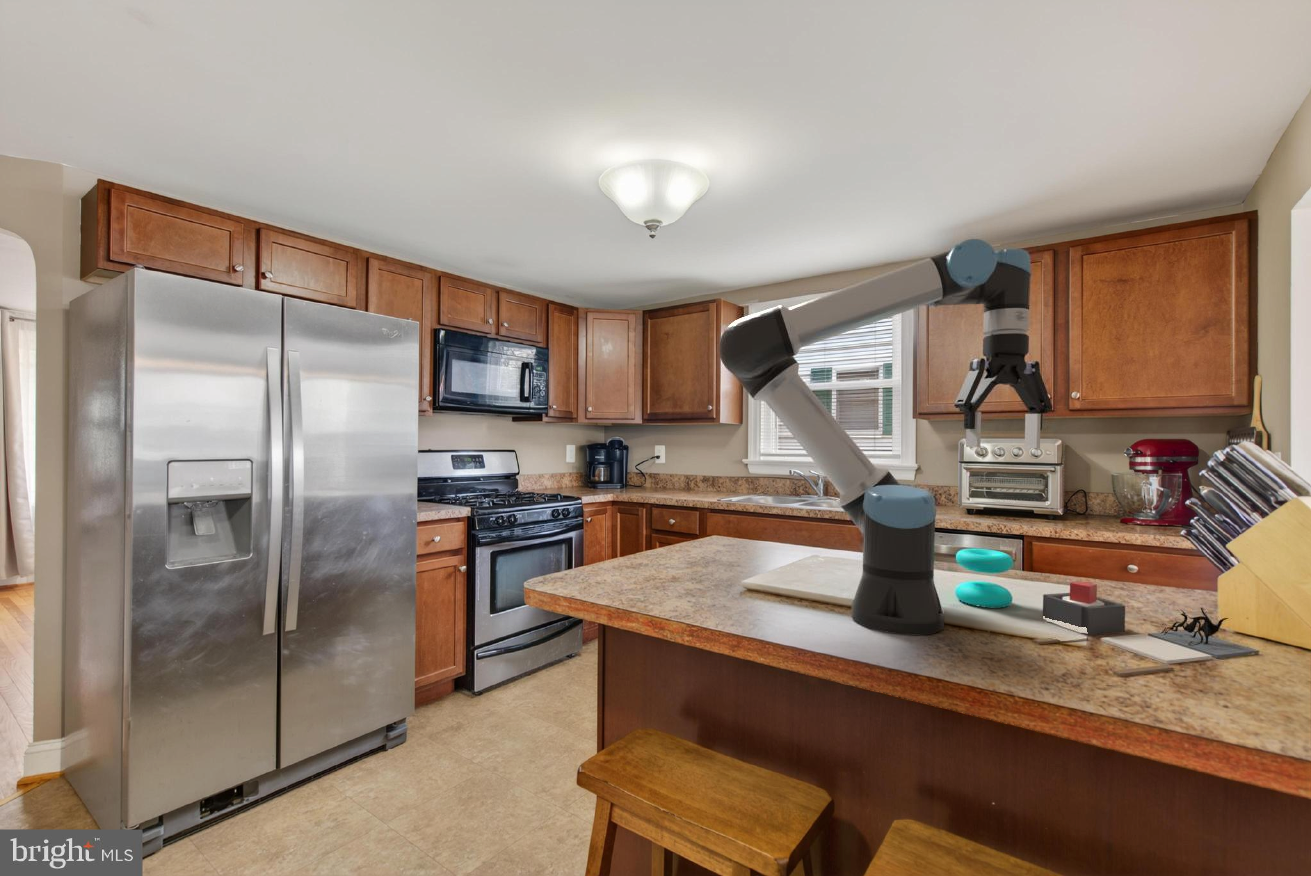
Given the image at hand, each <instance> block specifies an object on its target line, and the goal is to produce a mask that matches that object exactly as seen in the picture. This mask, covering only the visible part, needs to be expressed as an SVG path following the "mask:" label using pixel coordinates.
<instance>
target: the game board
mask: <svg viewBox="0 0 1311 876" xmlns="http://www.w3.org/2000/svg"><path fill="white" fill-rule="evenodd" d="M1065 596H1070V592H1059V593H1046V594H1043V595H1042V617H1043V616H1045V618H1049V619H1052V620H1057V621H1062V622H1064V623H1069V624H1071V625H1075V626H1078V627H1086V628H1087V632H1088V635H1087V636H1086V637H1087V640H1089V637H1088V636H1097V635H1108V634H1109V635H1110V634H1120V633H1126V629H1125V628H1126V605H1124V604H1123V603H1120V602H1118V601H1117V602H1116V601H1112V600H1109V599H1105V598H1102V597H1098V596H1097V600H1099V601H1101V602H1103V603H1104V605H1101V606H1088V607H1086V606H1082V605H1079V604H1076V603H1072V602H1069V601H1066V600H1062V598H1063V597H1065ZM1166 632H1167V631H1166ZM1195 632H1196V631H1195V630H1194V631H1193V632H1192V633H1189V632H1188V631H1185V630H1184V629H1182V630H1178V631H1177V632H1176V631H1172V630H1169V631H1168V632H1167V633H1166V634H1165V631H1164V632H1163V633H1162V631H1160V632H1152V633H1151V632H1148V633H1147V634H1145V633H1137V634H1129V635H1117V636H1108V637H1107V636H1106V637H1101V638H1100V641H1101V642H1102V643H1106V644H1108V645H1112V646H1114V647H1117V648H1120V649H1123V650H1125V651H1129V652H1131V653H1134V654H1137V655H1139V656H1142V657H1146V658H1149V659H1151V660H1153V661H1157V662H1159V663H1162V665H1153V666H1144V667H1142V666H1141V667H1135V668H1125V669H1124V668H1123V669H1117V670H1112V674H1113V675H1114V676H1118V677H1127V676H1134V675H1135V676H1136V675H1144V674H1153V673H1160V672H1169V671H1175V667H1174V666H1172V665H1171V664H1178V663H1187V662H1188V663H1189V662H1196V661H1206V660H1212V658H1214V659H1223V658H1224V659H1225V658H1232V657H1242V656H1241V655H1243V656H1248V654H1252V653H1259V654H1260V650H1259V649H1255V648H1252V647H1248V646H1245V645H1241V644H1238V643H1234V642H1232V641H1228V640H1224V639H1221V638H1217V637H1214V636H1212V635H1211V636H1209V637H1208V644H1205V643H1203V642H1206V637H1205V634H1204V633H1201V635H1202V636H1203V642H1202V643H1200V644H1198V645H1195V644H1197V643H1198V642H1201V637H1200V635H1199V633H1198V632H1197V633H1196V636H1195V637H1191V636H1193V635H1194V633H1195ZM1169 633H1173V634H1169ZM1164 634H1165V635H1164ZM1176 634H1177V635H1176ZM1185 634H1188V635H1185ZM1179 635H1181V636H1182V637H1181V636H1179ZM1190 635H1191V636H1190ZM1053 638H1054V637H1047V638H1046V637H1045V638H1038V639H1037V638H1036V639H1032V642H1033V643H1034V644H1036V645H1043V644H1044V645H1045V644H1055V643H1056V644H1057V643H1062V642H1061V641H1060V640H1058V639H1053ZM1087 640H1086V641H1087ZM1191 641H1192V642H1191ZM1190 642H1191V643H1190ZM1189 643H1190V644H1189ZM1188 644H1189V645H1188ZM1190 645H1193V646H1190ZM1252 655H1253V654H1252Z"/></svg>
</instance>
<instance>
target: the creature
mask: <svg viewBox="0 0 1311 876" xmlns="http://www.w3.org/2000/svg"><path fill="white" fill-rule="evenodd" d="M1200 610H1201V614H1202V616H1195V617H1190V616H1189V615H1188V614H1187V613H1186V612H1184V610H1182V609H1180V611H1181V612H1182V613H1180V615H1181V616H1182V617H1183V618H1184V619H1183V621H1175V622H1173V624H1172V626H1167V627H1165V628H1164V629H1163V630H1162V631H1161V632H1162V633H1163V632H1165V634H1166V633H1167V632H1170V631H1176V632H1177V631H1179V628H1182V630H1185V631H1188V632H1189V633H1192V632H1193V631H1194V632H1195V633H1194V635H1193V636H1191V635H1190V636H1191V637H1195V636H1196V633H1199V635H1200V637H1201V642H1198V643H1197V644H1195V645H1198V644H1200V643H1202V642H1203V636H1202V635H1201V634H1202V633H1201V632H1203V634H1204V635H1205V637H1206V642H1203V643H1205V644H1208V637H1209V636H1211V637H1212V636H1213V635H1214V634H1216V633H1217V632H1219V630H1220V628H1221V626H1222V625H1223V622H1224V621H1225V620H1229V617H1228V618H1227V617H1224V618H1221V619H1219V620H1218V623H1216V624H1214V623H1213V622H1212V620H1211V619H1210V618H1209V617H1208V615H1207V614H1206V612H1205V611H1204V607H1203V606H1202V607H1200ZM1188 619H1190V620H1192V621H1191V622H1190V623H1188ZM1201 621H1203V624H1202V623H1201ZM1197 624H1198V628H1197V630H1195V629H1196V626H1197ZM1201 624H1202V625H1201ZM1174 628H1175V629H1174ZM1165 634H1164V635H1165ZM1169 634H1173V633H1169ZM1176 635H1177V634H1176ZM1185 635H1188V634H1185ZM1179 636H1181V635H1179ZM1181 637H1182V636H1181ZM1191 642H1192V641H1191ZM1191 642H1190V643H1191ZM1190 643H1189V644H1190ZM1189 644H1188V645H1189ZM1190 646H1193V645H1190Z"/></svg>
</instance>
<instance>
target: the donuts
mask: <svg viewBox="0 0 1311 876" xmlns="http://www.w3.org/2000/svg"><path fill="white" fill-rule="evenodd" d="M1013 559H1014V558H1012V556H1011V555H1010V554H1007V553H1006V552H1003V551H998V550H993V549H986V548H964V549H960V550H959V551H957V553H956V554H955V560H956V562H957V563H958V565H959V566H961V567H963V569H965V570H969V571H971V572H976V573H982V574H983V573H984V574H1002V573H1005V572H1008V571H1009V570H1011V569H1012V568H1013V566H1014V560H1013ZM954 593H955V597H956V598H957V599H958V600H959V601H960V600H961V602H962V603H964V602H965V604H967V603H968V604H967V605H970V604H972V605H971V606H974V605H979V606H985V607H1003V608H1006V606H1007V607H1009V606H1011V604H1012V602H1013V595H1012V593H1011V591H1009V590H1008V589H1007V588H1006V587H1004V586H1002V585H1000V584H997V583H996V584H995V583H994V582H988V581H982V580H981V581H979V580H974V581H973V580H971V581H965V582H961V583H960V584H958V585H957V586H956V587H955V590H954ZM985 607H984V608H985Z"/></svg>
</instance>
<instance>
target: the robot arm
mask: <svg viewBox="0 0 1311 876" xmlns="http://www.w3.org/2000/svg"><path fill="white" fill-rule="evenodd" d="M1031 268H1032V267H1031V256H1030V253H1029V251H1026V250H1025V249H1021V248H1005V249H997V250H994V247H993V246H992V245H991V244H990V243H989V242H987V241H985V240H982V239H981V238H980V239H979V238H969V239H965V240H963V241H961V242H959V243H957V244H956V245H954V246H952V248H951V249H950V250H948V251H945V252H942V253H939V254H937V255H934V256H931V257H928V258H926V259H923V260H920V261H917V262H914V263H911V264H909V265H906V266H903V267H900V268H898V269H897V268H896V269H895V270H892V271H889V272H886V273H884V274H880V275H878V276H875V277H872V278H869V279H866V280H863V281H860V282H858V283H856V284H853V285H849V286H847V287H844V288H841V289H838V290H835V291H833V292H831V293H827V294H825V295H821V296H819V297H817V298H814V299H811V300H808V301H805V302H802V303H799V304H797V305H794V306H791V307H785V306H783V305H779V304H778V305H777V306H775V307H774V306H773V307H771V308H768V309H766V310H765V309H764V310H761V311H759V312H756V313H753V314H750V315H746V316H743V317H741V318H739V319H736V320H734V321H733V322H732V323H731V324H729V325H728V326H727V327H726V328H725V330H724V331H723V333H722V334H721V336H720V339H719V343H718V353H719V354H718V355H719V357H720V360H721V363H722V365H723V366H724V367H725V369H727V370H728V372H730V373H731V374H732V375H733V376H734V378H736V380H737V381H738V382H739V383H740V384H741V386H742V387H743V388H744V390H745V391H746V392H747V393H748V394H749V396H750V397H751V398H752V399H753V400H754V401H761V402H765V403H766V405H768V407H769V409H771V411H772V412H773V413H774V414H775V416H776V417H777V418H778V419H779V420H780V421H781V423H782V424H783V425H784V426H785V428H786V429H787V430H788V431H789V433H790V434H791V436H792V437H794V439H795V440H796V441H797V443H798V444H799V445H800V447H802V449H803V450H804V451H805V453H806V454H807V455H808V456H809V457H810V458H811V459H812V461H813V462H814V463H815V464H816V466H817V467H818V468H819V470H820V471H821V472H822V473H823V475H825V477H826V478H827V479H828V480H829V482H830V483H831V484H832V485H833V487H834V488H835V489H836V490H837V492H838V493H839V503H838V504H839V506H840V508H842V510H843V511H844V512H845V513H846V515H847V516H848V517H849V518H850V519H851V521H852V522H853V523H854V525H855V526H856V527H857V528H858V529H859V531H860V532H861V534H862V535H863V536H862V574H861V578H860V580H859V583H858V585H857V588H856V593H855V594H854V598H853V600H852V602H851V612H850V613H851V614H850V616H851V618H852V620H853V621H854V622H856V623H858V624H860V625H862V626H863V627H867V628H868V629H869V628H870V629H872V630H877V631H880V632H881V631H882V632H886V633H893V634H899V635H909V636H910V635H915V636H919V635H922V636H923V635H930V634H931V635H932V634H936V633H938V632H939V633H940V632H941V631H942V630H944V628H945V614H944V610H943V609H942V605H941V604H942V603H941V601H940V597H939V594H938V590H937V587H936V585H935V580H934V579H935V578H934V574H935V570H934V569H935V536H936V535H935V534H936V533H935V532H936V530H935V529H936V516H937V508H936V501H935V500H936V499H935V497H934V496H933V494H932V493H931V492H930V491H928V490H926V489H924V488H918V487H915V486H909V485H901V484H900V483H899V482H898V480H897V479H896V478H895V477H894V475H893V474H892V473H891V472H890V471H889V469H888V468H880V467H877V466H875V465H874V464H873V462H871V460H870V459H869V458H868V457H867V455H866V454H865V453H864V452H863V450H861V448H860V447H859V446H858V445H857V443H856V442H855V441H854V440H853V439H852V438H851V436H850V435H849V434H848V433H847V431H846V430H845V429H844V428H843V427H842V425H841V424H840V423H839V422H838V421H837V420H836V418H835V417H834V416H833V414H831V412H830V411H829V410H828V409H827V407H826V406H825V405H824V404H823V402H821V400H820V399H819V398H818V397H817V396H816V395H815V393H814V392H813V390H811V388H810V387H809V386H808V384H807V383H806V382H805V381H804V380H803V379H802V377H801V376H800V374H799V369H800V368H799V367H800V363H799V361H797V360H796V358H795V357H794V356H797V354H798V353H799V351H800V350H801V349H802V348H804V347H807V346H810V345H813V344H816V343H819V342H823V341H824V340H827V339H830V338H833V337H836V336H839V335H842V334H845V333H847V332H850V331H853V330H854V331H855V330H856V329H859V328H862V327H865V326H868V325H871V324H873V323H877V322H879V321H882V320H885V319H888V318H891V317H894V316H897V315H899V314H902V313H905V312H908V311H911V310H914V309H917V308H919V307H924V306H927V307H928V306H930V307H931V306H933V307H939V306H940V307H941V306H943V307H944V306H961V305H962V306H964V305H965V306H966V305H983V327H982V328H983V329H982V330H983V331H982V333H983V334H984V335H985V336H984V338H983V339H982V355H983V356H984V357H985V358H983V357H981V358H975V359H971V360H970V361H969V368H968V369H969V371H968V373H967V375H966V376H965V380H964V382H963V384H962V386H961V389H960V390H959V393H958V395H957V397H956V400H955V402H954V408H956V409H959V411H960V412H962V413H964V414H963V428H964V430H966V431H965V435H966V436H965V448H981V439H982V437H981V431H982V412H981V411H978V409H980V407H981V405H982V404H983V403H984V402H985V400H986V399H987V398H988V396H989V395H990V394H991V392H992V391H993V389H994V388H995V387H996V386H997V385H1004V386H1010V387H1011V388H1013V389H1014V391H1015V393H1016V394H1017V395H1018V397H1019V398H1020V401H1022V403H1023V405H1024V406H1025V407H1026V410H1028V412H1029V413H1025V417H1024V420H1025V421H1024V423H1025V425H1024V448H1026V449H1040V448H1041V431H1042V430H1043V415H1044V414H1048V412H1049V411H1052V410H1053V404H1052V401H1051V399H1050V396H1049V393H1048V390H1047V388H1046V385H1045V383H1044V380H1043V377H1042V374H1041V367H1040V361H1038V360H1037V361H1036V360H1035V361H1027V362H1026V359H1025V358H1026V356H1027V355H1028V353H1029V350H1030V336H1029V335H1028V334H1026V333H1028V332H1029V331H1030V298H1031V296H1030V295H1031V278H1032V272H1031V271H1032V269H1031ZM984 373H985V374H984Z"/></svg>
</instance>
